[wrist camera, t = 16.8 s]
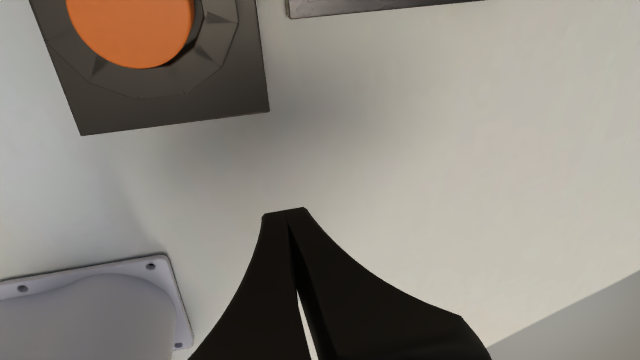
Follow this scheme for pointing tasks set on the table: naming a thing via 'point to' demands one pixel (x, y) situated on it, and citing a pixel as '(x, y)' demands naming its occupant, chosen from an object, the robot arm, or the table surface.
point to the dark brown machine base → (162, 72)
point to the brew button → (133, 29)
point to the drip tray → (353, 6)
